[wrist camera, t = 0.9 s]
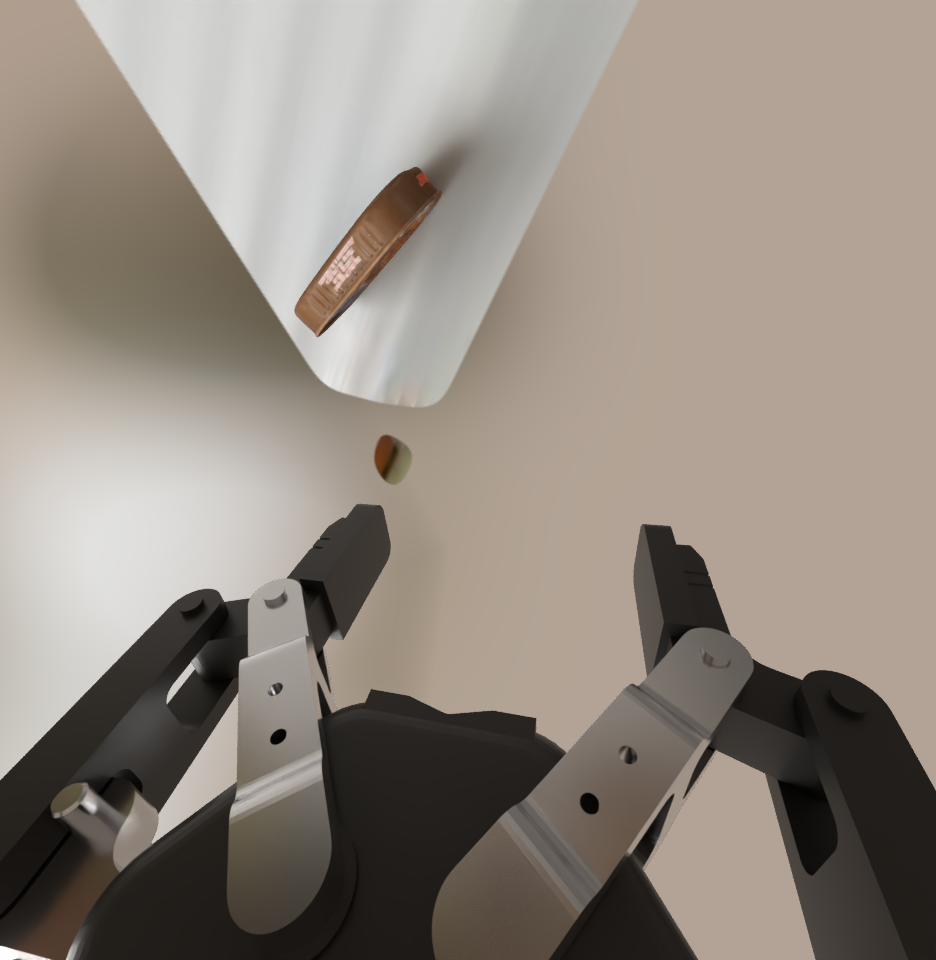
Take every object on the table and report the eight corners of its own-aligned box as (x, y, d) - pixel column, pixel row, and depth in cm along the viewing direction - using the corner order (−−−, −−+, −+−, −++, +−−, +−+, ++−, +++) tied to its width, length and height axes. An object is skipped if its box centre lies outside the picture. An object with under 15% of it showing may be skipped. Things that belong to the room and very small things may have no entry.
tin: (341, 316, 41) (309, 357, 34) (313, 290, 39) (274, 328, 33) (451, 187, 33) (434, 210, 27) (421, 149, 31) (396, 165, 25)
